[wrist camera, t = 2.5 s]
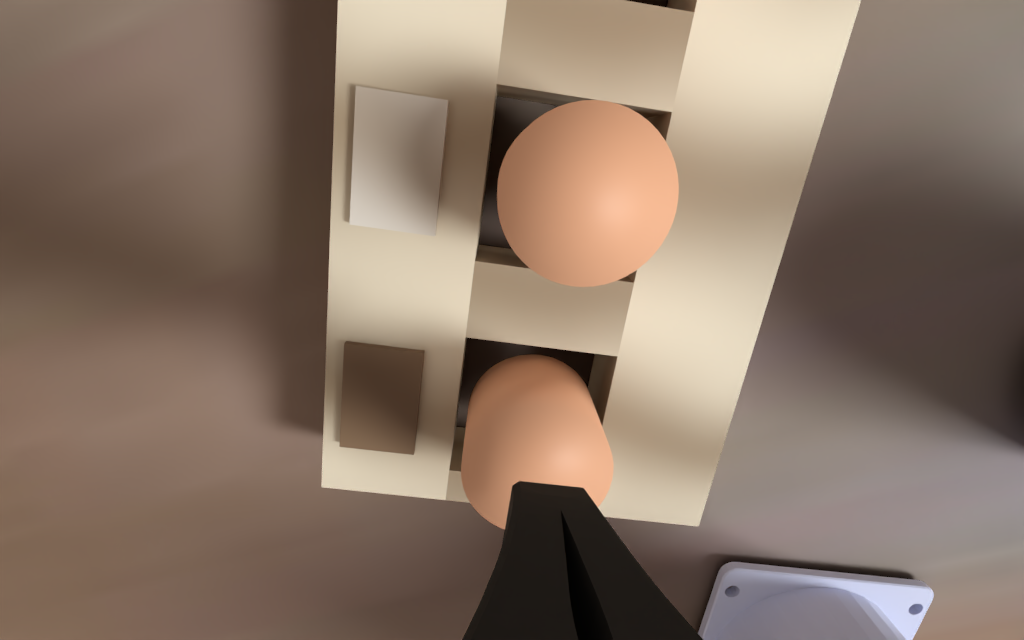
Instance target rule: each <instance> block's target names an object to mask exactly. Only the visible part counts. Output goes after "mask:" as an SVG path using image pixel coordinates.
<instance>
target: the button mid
mask: <svg viewBox="0 0 1024 640" xmlns="http://www.w3.org/2000/svg"><path fill="white" fill-rule="evenodd" d="M678 195H679V183H678V173H677V169H676V164H675V161H674V158H673V155H672V153H671V150H670V148H669V147H668V145H667V143H666V141H665V139H664V138H663V137H662V135H661V134H660V132H659V131H658V130H657V129H656V128H655V127H654V126H653V125H652V124H651V123H650V122H649V121H648V120H647V119H645V118H644V117H643V116H642V115H640V114H639V113H637V112H635V111H633V110H632V109H630V108H628V107H625V106H623V105H620V104H617V103H613V102H608V101H601V100H582V101H576V102H571V103H567V104H564V105H562V106H559V107H556V108H554V109H552V110H550V111H548V112H546V113H544V114H543V115H542V116H540V117H539V118H537V119H536V120H534V121H533V122H532V123H531V124H530V125H529V126H528V127H527V128H526V129H525V130H523V131H522V132H521V133H520V134H519V135H518V137H517V138H516V139H515V140H514V141H513V143H512V144H511V146H510V147H509V149H508V150H507V152H506V154H505V156H504V158H503V161H502V164H501V167H500V171H499V176H498V186H497V208H498V214H499V220H500V224H501V227H502V230H503V233H504V235H505V237H506V239H507V241H508V243H509V245H510V246H511V248H512V249H513V251H514V252H515V254H516V255H517V256H518V257H519V258H520V259H521V261H522V262H523V263H524V264H526V265H527V266H528V267H529V268H530V269H531V270H533V271H534V272H536V273H537V274H539V275H540V276H542V277H544V278H546V279H548V280H550V281H553V282H556V283H559V284H563V285H568V286H574V287H594V286H599V285H605V284H608V283H611V282H614V281H617V280H619V279H622V278H624V277H626V276H628V275H629V274H631V273H633V272H634V271H636V270H637V269H639V268H640V267H641V266H642V265H644V264H645V263H646V262H647V261H648V260H649V259H650V258H651V257H652V256H653V255H654V254H655V253H656V251H657V250H658V249H659V247H660V246H661V245H662V243H663V241H664V240H665V238H666V236H667V235H668V233H669V230H670V228H671V226H672V224H673V221H674V217H675V214H676V210H677V204H678Z"/></svg>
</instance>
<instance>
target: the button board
mask: <svg viewBox="0 0 1024 640" xmlns="http://www.w3.org/2000/svg"><path fill="white" fill-rule="evenodd" d="M860 2H861V0H668V4H667V7H661V6H655V5H649V4H644V3H638V2H632V1H627V0H338V13H337V43H336V72H335V102H334V131H333V160H332V190H331V219H330V249H329V278H328V308H327V337H326V367H325V396H324V426H323V455H322V485H321V487H324V488H334V489H343V490H353V491H363V492H372V493H382V494H391V495H401V496H411V497H420V498H430V499H439V500H449V501H458V502H468V503H470V501H469V500H468V498H467V496H466V494H465V491H464V488H463V485H462V480H461V462H462V454H463V446H464V438H465V430H466V428H463V427H456V423H457V415H458V407H459V399H460V391H461V383H462V375H463V367H464V358H465V350H466V342H467V338H475V339H483V340H491V341H499V342H507V343H515V344H522V345H530V346H538V347H546V348H554V349H562V350H570V351H578V352H586V353H594V354H595V355H594V360H593V365H592V370H591V374H590V379H589V384H588V390H589V393H590V396H591V398H592V401H593V404H594V406H595V409H596V412H597V414H598V417H599V419H600V422H601V425H602V427H603V430H604V433H605V435H606V438H607V441H608V443H609V446H610V449H611V452H612V456H613V463H614V469H613V478H612V482H611V486H610V489H609V491H608V493H607V495H606V497H605V499H604V500H603V502H602V503H601V504H600V506H599V507H598V509H599V510H600V511H601V513H602V514H603V516H604V517H612V518H622V519H631V520H641V521H650V522H660V523H670V524H679V525H689V526H699V523H700V520H701V517H702V513H703V510H704V507H705V504H706V500H707V497H708V494H709V491H710V488H711V484H712V481H713V478H714V475H715V471H716V468H717V465H718V462H719V458H720V455H721V452H722V449H723V445H724V442H725V439H726V436H727V433H728V429H729V426H730V423H731V420H732V416H733V413H734V410H735V407H736V403H737V400H738V397H739V394H740V390H741V387H742V384H743V381H744V378H745V374H746V371H747V368H748V365H749V361H750V358H751V355H752V352H753V348H754V345H755V342H756V339H757V335H758V332H759V329H760V326H761V323H762V319H763V316H764V313H765V310H766V306H767V303H768V300H769V297H770V293H771V290H772V287H773V284H774V280H775V277H776V274H777V271H778V268H779V264H780V261H781V258H782V255H783V251H784V248H785V245H786V242H787V238H788V235H789V232H790V229H791V226H792V222H793V219H794V216H795V213H796V209H797V206H798V203H799V200H800V196H801V193H802V190H803V187H804V183H805V180H806V177H807V174H808V171H809V167H810V164H811V161H812V158H813V154H814V151H815V148H816V145H817V141H818V138H819V135H820V132H821V128H822V125H823V122H824V119H825V116H826V112H827V109H828V106H829V103H830V99H831V96H832V93H833V90H834V86H835V83H836V80H837V77H838V73H839V70H840V67H841V64H842V61H843V57H844V54H845V51H846V48H847V44H848V41H849V38H850V35H851V31H852V28H853V25H854V22H855V18H856V15H857V12H858V9H859V6H860ZM497 96H502V97H508V98H514V99H521V100H527V101H533V102H540V103H546V104H552V105H559V106H562V105H564V104H567V103H571V102H576V101H582V100H601V101H608V102H613V103H617V104H620V105H623V106H625V107H628V108H630V109H632V110H633V111H635V112H637V113H639V114H640V115H642V116H643V117H644V118H645V119H647V120H648V121H649V122H650V123H651V124H652V125H653V126H654V127H655V128H656V129H657V130H658V131H659V132H660V134H661V135H662V137H663V138H664V139H665V141H666V143H667V145H668V147H669V148H670V150H671V153H672V155H673V158H674V161H675V164H676V169H677V173H678V183H679V195H678V204H677V210H676V214H675V217H674V221H673V224H672V226H671V228H670V230H669V233H668V235H667V236H666V238H665V240H664V241H663V243H662V245H661V246H660V247H659V249H658V250H657V251H656V253H655V254H654V255H653V256H652V257H651V258H650V259H649V260H648V261H647V262H646V263H645V264H644V265H642V266H641V267H640V268H639V269H637V270H636V271H634V272H633V273H631V274H629V275H628V276H626V277H624V278H622V279H619V280H617V281H614V282H611V283H608V284H605V285H599V286H594V287H574V286H568V285H563V284H559V283H556V282H553V281H550V280H548V279H546V278H544V277H542V276H540V275H539V274H537V273H536V272H534V271H533V270H531V269H530V268H529V267H528V266H527V265H526V264H524V263H523V262H522V261H521V259H520V258H519V257H518V256H517V255H516V254H515V252H514V251H513V249H507V248H500V247H493V246H486V245H479V237H480V229H481V221H482V213H483V205H484V197H485V189H486V181H487V173H488V165H489V157H490V148H491V140H492V132H493V124H494V116H495V108H496V100H497Z"/></svg>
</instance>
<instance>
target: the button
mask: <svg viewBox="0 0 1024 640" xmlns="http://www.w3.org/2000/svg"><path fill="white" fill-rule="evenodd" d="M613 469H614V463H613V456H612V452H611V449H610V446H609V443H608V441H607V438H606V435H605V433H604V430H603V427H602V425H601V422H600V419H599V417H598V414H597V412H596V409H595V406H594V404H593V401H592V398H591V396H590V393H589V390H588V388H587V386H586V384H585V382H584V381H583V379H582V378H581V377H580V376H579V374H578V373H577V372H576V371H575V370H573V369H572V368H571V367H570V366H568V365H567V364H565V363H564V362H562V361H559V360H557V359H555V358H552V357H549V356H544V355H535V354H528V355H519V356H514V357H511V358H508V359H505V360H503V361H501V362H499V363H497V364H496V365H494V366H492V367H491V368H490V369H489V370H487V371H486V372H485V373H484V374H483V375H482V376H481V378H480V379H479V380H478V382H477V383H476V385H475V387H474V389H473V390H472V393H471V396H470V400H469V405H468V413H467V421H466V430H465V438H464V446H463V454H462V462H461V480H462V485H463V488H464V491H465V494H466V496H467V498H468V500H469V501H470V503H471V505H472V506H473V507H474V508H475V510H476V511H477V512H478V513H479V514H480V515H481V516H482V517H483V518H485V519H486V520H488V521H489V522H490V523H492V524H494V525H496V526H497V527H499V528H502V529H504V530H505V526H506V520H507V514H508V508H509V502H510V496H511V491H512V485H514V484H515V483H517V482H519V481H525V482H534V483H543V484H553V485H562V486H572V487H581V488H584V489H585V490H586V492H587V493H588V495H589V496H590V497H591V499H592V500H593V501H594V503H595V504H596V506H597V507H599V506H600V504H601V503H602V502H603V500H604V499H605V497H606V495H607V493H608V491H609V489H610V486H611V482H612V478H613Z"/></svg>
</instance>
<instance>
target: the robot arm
mask: <svg viewBox="0 0 1024 640" xmlns="http://www.w3.org/2000/svg"><path fill="white" fill-rule="evenodd" d="M730 586H732V587H730ZM728 587H730V588H728ZM933 596H934V593H933V590H932V589H931V588H930V587H929V586H928V585H927V584H926V583H924V582H923V581H920V580H912V579H902V578H892V577H882V576H872V575H862V574H852V573H842V572H832V571H822V570H812V569H802V568H792V567H782V566H772V565H762V564H752V563H742V562H729V563H726V564H725V565H723V566H722V567H721V568H720V570H719V572H718V575H717V578H716V581H715V584H714V587H713V590H712V593H711V596H710V599H709V602H708V605H707V608H706V611H705V614H704V617H703V620H702V623H701V626H700V629H699V632H698V633H697V632H696V631H695V630H694V629H693V628H692V627H691V626H690V625H689V623H688V622H687V621H686V620H685V619H684V618H683V617H682V615H681V614H680V613H679V612H678V611H677V610H676V608H675V607H674V606H673V605H672V604H671V603H670V602H669V600H668V599H667V598H666V597H665V596H664V595H663V593H662V592H661V591H660V590H659V589H658V587H657V586H656V585H655V584H654V582H653V581H652V580H651V579H650V577H649V576H648V575H647V573H646V572H645V571H644V570H643V568H642V567H641V566H640V564H639V563H638V562H637V561H636V559H635V558H634V557H633V555H632V554H631V553H630V551H629V550H628V549H627V547H626V546H625V545H624V543H623V542H622V541H621V539H620V538H619V537H618V535H617V534H616V532H615V531H614V530H613V528H612V527H611V525H610V524H609V523H608V521H607V520H606V518H605V517H604V516H603V514H602V513H601V511H600V510H599V509H598V507H597V506H596V504H595V503H594V501H593V500H592V499H591V497H590V496H589V495H588V493H587V492H586V490H585V489H584V488H581V487H572V486H562V485H553V484H543V483H534V482H525V481H519V482H517V483H515V484H514V485H512V491H511V496H510V502H509V508H508V514H507V520H506V526H505V532H504V538H503V544H502V548H501V551H500V554H499V558H498V560H497V563H496V566H495V568H494V571H493V573H492V576H491V578H490V580H489V583H488V585H487V588H486V590H485V592H484V595H483V597H482V600H481V602H480V604H479V606H478V609H477V611H476V613H475V615H474V617H473V619H472V621H471V623H470V625H469V627H468V629H467V631H466V633H465V635H464V637H463V639H462V640H912V639H913V637H914V635H915V633H916V631H917V630H918V628H919V626H920V624H921V622H922V620H923V618H924V616H925V614H926V612H927V610H928V608H929V606H930V604H931V602H932V600H933Z"/></svg>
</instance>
